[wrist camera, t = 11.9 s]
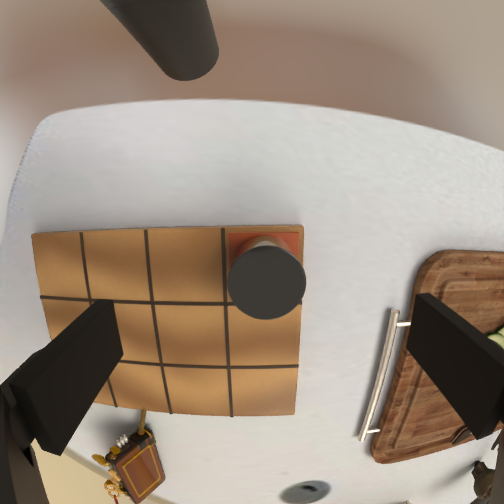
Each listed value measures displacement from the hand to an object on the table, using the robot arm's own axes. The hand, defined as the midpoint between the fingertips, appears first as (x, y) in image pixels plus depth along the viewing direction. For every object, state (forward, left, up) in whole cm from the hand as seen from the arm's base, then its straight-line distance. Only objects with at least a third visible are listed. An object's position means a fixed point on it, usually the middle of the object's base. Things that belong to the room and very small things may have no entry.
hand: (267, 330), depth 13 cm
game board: (+6, -9, -13) cm, 17 cm away
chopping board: (+14, +34, -13) cm, 38 cm away
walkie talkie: (+21, -13, -13) cm, 28 cm away
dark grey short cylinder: (0, 0, -11) cm, 11 cm away
